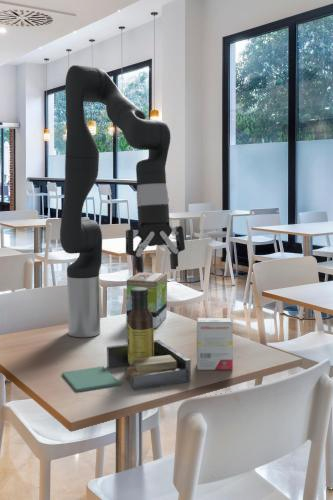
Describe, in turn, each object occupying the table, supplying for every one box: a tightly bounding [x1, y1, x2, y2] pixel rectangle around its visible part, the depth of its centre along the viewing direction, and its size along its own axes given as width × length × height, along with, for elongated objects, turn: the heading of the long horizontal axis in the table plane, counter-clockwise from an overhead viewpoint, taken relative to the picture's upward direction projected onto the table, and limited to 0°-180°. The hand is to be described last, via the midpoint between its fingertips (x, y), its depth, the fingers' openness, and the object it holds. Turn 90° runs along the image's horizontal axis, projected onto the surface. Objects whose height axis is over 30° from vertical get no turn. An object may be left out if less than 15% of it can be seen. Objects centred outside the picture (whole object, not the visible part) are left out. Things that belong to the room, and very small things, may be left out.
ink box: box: [196, 317, 234, 371], centre depth 144 cm, size 9×5×12 cm, turn 88°
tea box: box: [125, 272, 168, 329], centre depth 187 cm, size 15×10×15 cm, turn 168°
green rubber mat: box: [61, 366, 121, 393], centre depth 136 cm, size 12×10×1 cm
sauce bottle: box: [126, 287, 155, 367], centre depth 142 cm, size 6×6×20 cm
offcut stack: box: [125, 355, 177, 385], centre depth 136 cm, size 6×11×4 cm, turn 115°
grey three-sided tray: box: [106, 339, 192, 392], centre depth 140 cm, size 18×14×5 cm
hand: (156, 270), depth 144 cm, fingers open, 8 cm apart
